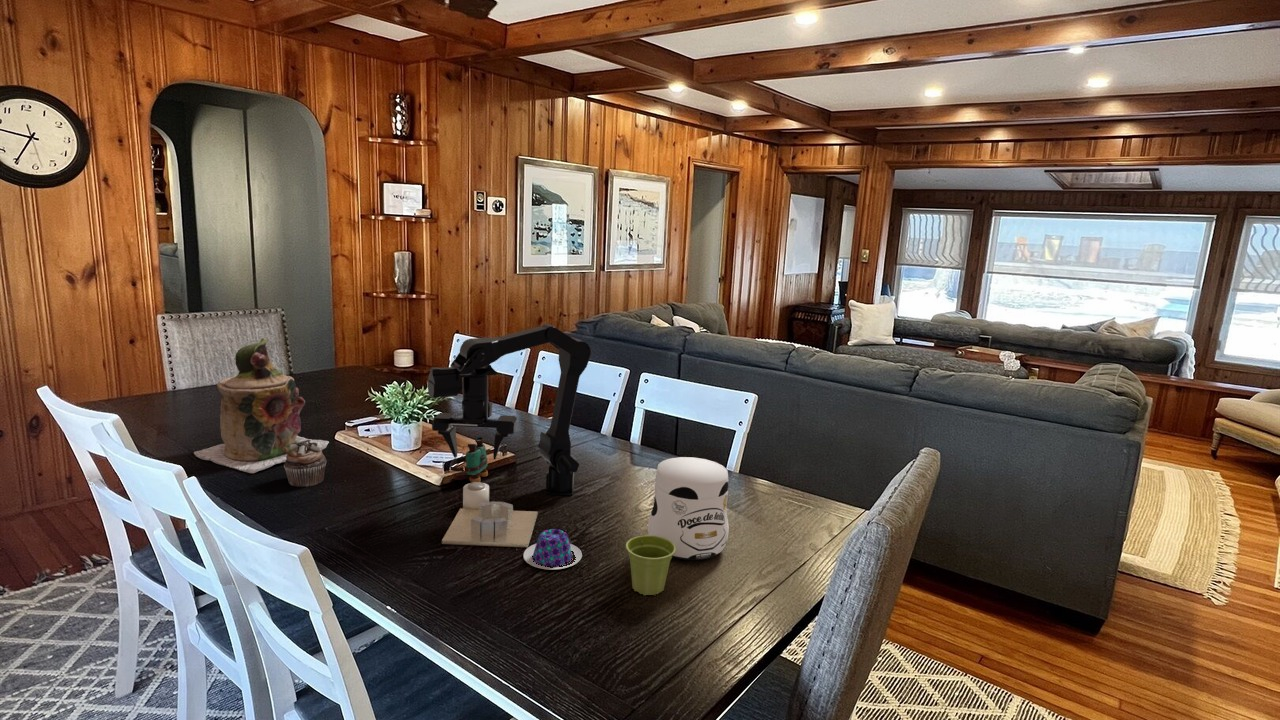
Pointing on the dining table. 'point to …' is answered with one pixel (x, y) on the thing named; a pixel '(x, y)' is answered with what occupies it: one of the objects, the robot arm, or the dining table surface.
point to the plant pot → (649, 563)
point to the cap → (475, 495)
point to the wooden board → (491, 526)
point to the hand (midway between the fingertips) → (475, 458)
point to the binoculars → (473, 462)
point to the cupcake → (305, 464)
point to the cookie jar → (257, 414)
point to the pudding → (552, 550)
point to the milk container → (691, 507)
